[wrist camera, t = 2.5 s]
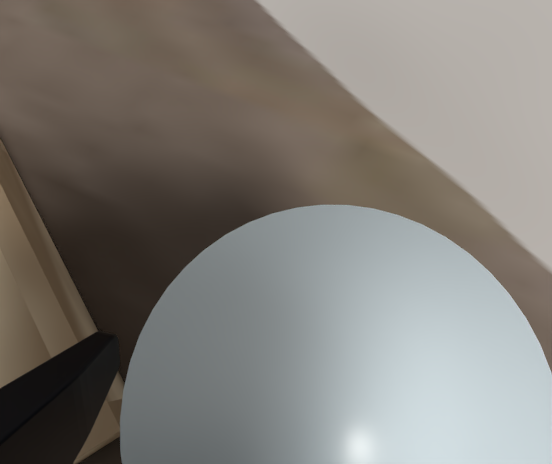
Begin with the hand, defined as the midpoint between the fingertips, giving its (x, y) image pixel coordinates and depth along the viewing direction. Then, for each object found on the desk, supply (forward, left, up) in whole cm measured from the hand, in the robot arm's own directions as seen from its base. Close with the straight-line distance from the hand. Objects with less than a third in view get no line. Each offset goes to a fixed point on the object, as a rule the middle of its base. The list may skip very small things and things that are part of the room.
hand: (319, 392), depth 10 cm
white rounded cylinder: (0, 0, -8) cm, 8 cm away
